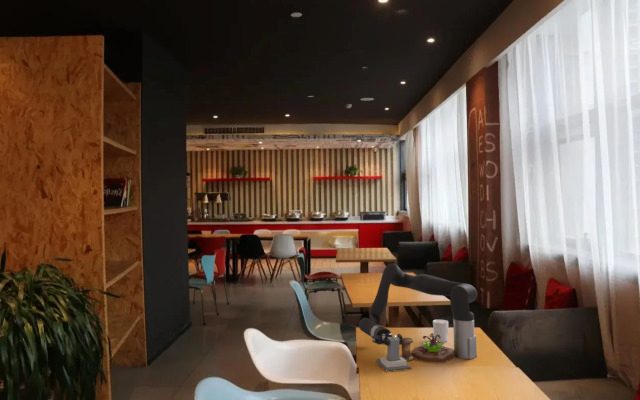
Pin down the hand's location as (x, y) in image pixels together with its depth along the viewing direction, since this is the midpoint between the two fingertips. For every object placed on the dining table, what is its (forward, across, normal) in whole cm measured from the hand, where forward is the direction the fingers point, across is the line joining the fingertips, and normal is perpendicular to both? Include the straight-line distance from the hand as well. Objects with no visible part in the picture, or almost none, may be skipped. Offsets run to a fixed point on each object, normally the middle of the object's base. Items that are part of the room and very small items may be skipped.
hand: (394, 342), depth 208 cm
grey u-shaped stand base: (-3, 0, +11) cm, 11 cm away
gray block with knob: (-3, 0, +9) cm, 10 cm away
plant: (-11, +23, +11) cm, 28 cm away
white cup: (-32, +39, +10) cm, 51 cm away
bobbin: (-11, +8, +10) cm, 17 cm away
